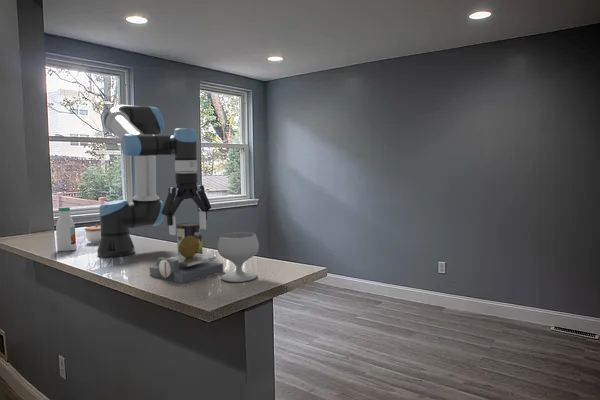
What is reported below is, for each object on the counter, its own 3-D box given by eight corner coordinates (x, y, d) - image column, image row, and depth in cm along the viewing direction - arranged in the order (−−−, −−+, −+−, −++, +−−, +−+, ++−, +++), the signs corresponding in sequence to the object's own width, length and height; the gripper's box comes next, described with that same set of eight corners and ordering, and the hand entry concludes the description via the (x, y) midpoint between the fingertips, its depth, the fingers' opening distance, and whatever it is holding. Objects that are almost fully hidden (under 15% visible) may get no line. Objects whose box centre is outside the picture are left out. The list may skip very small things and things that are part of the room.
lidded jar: (80, 244, 215) (79, 225, 214) (96, 240, 225) (95, 222, 224) (98, 244, 212) (97, 226, 211) (113, 240, 222) (112, 222, 221)
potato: (200, 254, 160) (199, 233, 159) (199, 259, 152) (198, 237, 151) (180, 255, 158) (179, 234, 158) (178, 260, 151) (177, 238, 150)
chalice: (224, 272, 155) (223, 231, 154) (263, 272, 154) (262, 231, 152) (213, 283, 141) (211, 238, 140) (255, 284, 140) (253, 238, 138)
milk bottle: (66, 252, 195) (63, 208, 194) (53, 251, 198) (50, 208, 196) (80, 248, 203) (77, 206, 201) (67, 247, 205) (64, 206, 203)
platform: (163, 261, 154) (163, 259, 154) (192, 254, 164) (192, 252, 164) (187, 266, 146) (187, 263, 146) (215, 259, 157) (215, 256, 157)
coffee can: (206, 255, 185) (205, 222, 183) (196, 260, 175) (195, 226, 173) (184, 254, 187) (183, 222, 185) (173, 259, 177) (171, 225, 175)
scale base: (148, 276, 152) (147, 257, 151) (190, 265, 167) (189, 247, 166) (181, 284, 141) (180, 263, 141) (223, 271, 156) (222, 253, 156)
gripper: (163, 174, 140) (165, 238, 142) (219, 171, 160) (221, 227, 162) (149, 173, 144) (151, 236, 147) (206, 170, 164) (207, 225, 167)
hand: (188, 231), depth 155 cm, fingers open, 13 cm apart
